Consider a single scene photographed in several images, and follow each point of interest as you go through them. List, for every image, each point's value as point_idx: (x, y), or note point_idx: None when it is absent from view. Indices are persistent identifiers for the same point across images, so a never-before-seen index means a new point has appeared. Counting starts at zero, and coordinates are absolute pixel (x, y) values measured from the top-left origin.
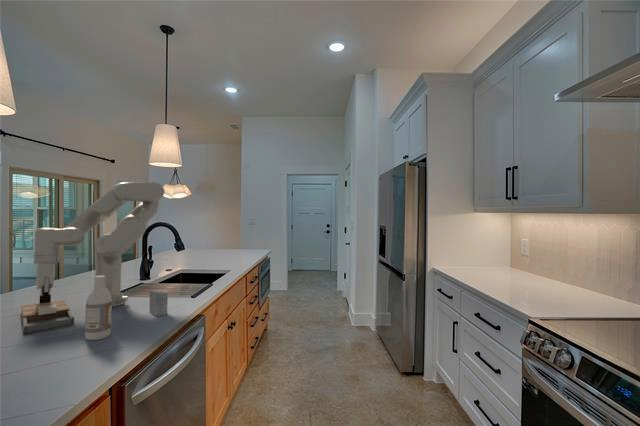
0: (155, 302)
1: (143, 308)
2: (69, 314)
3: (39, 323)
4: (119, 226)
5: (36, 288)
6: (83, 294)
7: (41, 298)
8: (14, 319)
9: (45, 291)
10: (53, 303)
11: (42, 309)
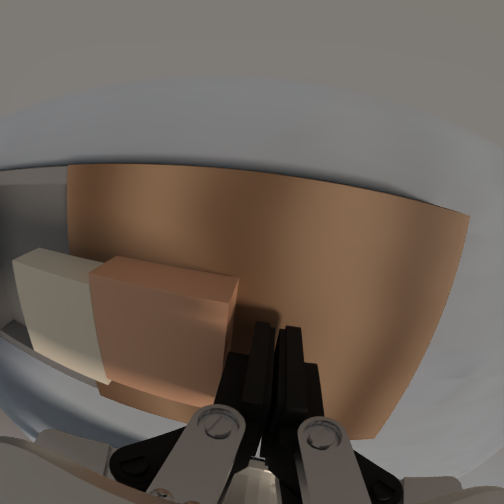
0: None
1: None
2: (37, 353)
3: (45, 236)
4: None
5: (24, 455)
6: (479, 439)
7: (242, 386)
8: (295, 130)
9: (42, 440)
10: (145, 391)
11: (18, 282)
